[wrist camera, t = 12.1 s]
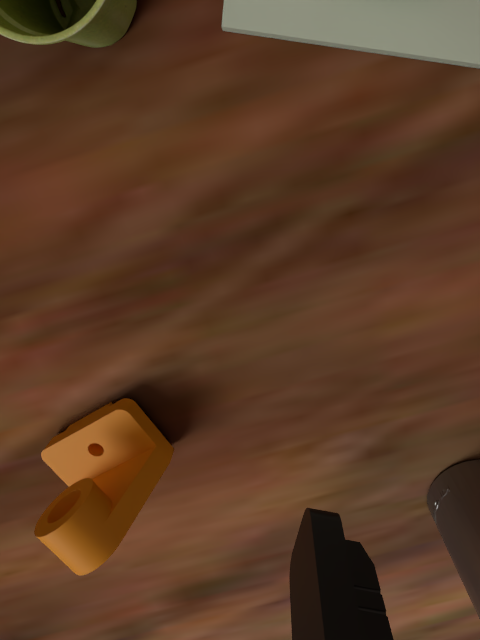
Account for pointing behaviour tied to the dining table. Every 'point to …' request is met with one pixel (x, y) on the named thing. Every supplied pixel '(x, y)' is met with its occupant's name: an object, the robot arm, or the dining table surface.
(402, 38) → the stand
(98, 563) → the bracket
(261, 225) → the dining table surface
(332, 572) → the robot arm
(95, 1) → the plant pot
